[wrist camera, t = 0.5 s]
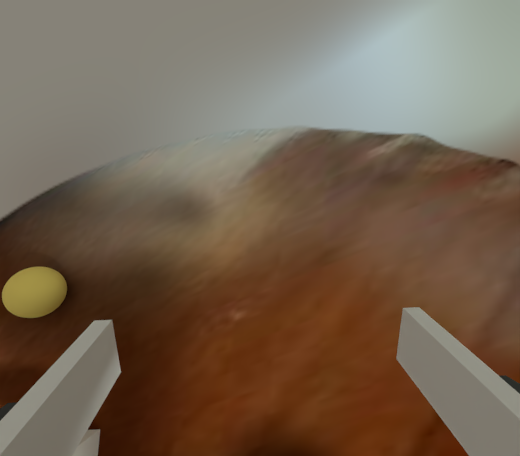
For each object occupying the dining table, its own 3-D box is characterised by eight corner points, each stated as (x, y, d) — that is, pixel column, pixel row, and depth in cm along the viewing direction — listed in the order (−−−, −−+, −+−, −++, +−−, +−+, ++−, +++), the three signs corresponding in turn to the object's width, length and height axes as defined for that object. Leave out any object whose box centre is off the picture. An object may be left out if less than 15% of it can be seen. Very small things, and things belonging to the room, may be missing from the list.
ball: (74, 316, 32) (36, 317, 27) (27, 318, 32) (-20, 320, 27) (81, 268, 34) (46, 261, 28) (36, 271, 34) (-7, 264, 28)
